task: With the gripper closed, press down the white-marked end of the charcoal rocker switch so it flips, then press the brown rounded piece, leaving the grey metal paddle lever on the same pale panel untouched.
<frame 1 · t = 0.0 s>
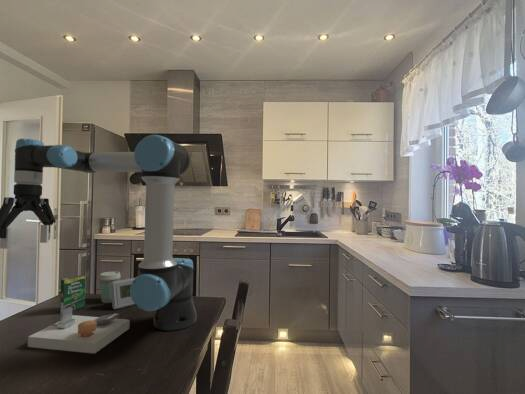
hand: (25, 245, 94), 28 cm above the table, tool pointing down, fingers open, 13 cm apart
digital clock: (131, 304, 116), on the table
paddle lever: (66, 317, 88), point 6 cm above the table, slide at 0.0 cm
switch panel: (82, 337, 87), on the table
coffee cup: (109, 301, 120), on the table
coffee box: (72, 310, 109), on the table
brown rounded piece: (87, 332, 83), point 4 cm above the table, slide at 0.0 cm
rocker switch: (105, 318, 91), point 5 cm above the table, hinge at 12.0°
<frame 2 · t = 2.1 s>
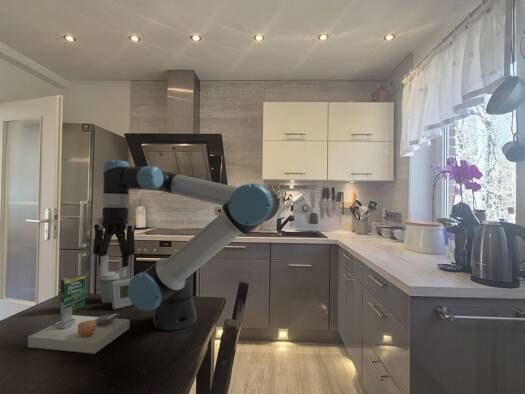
hand: (113, 275, 91), 19 cm above the table, tool pointing down, fingers open, 6 cm apart
nothing on the table moved.
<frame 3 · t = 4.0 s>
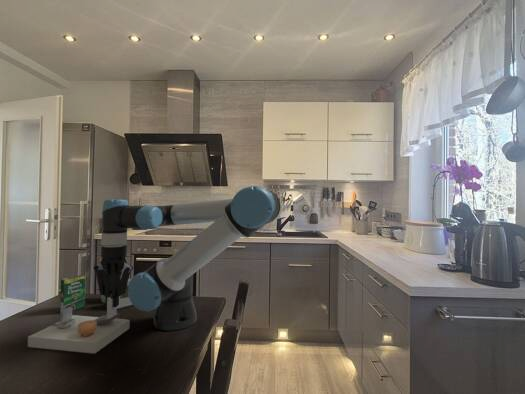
hand: (111, 316, 90), 5 cm above the table, tool pointing down, fingers closed
rocker switch: (105, 318, 91), point 5 cm above the table, hinge at 12.0°, touching gripper
everything else where it was.
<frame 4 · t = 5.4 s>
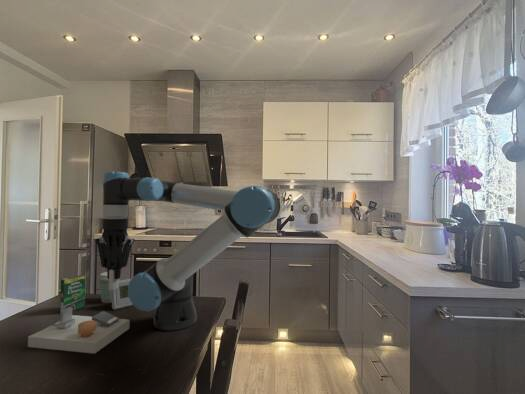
hand: (113, 288, 90), 15 cm above the table, tool pointing down, fingers closed
rocker switch: (105, 318, 91), point 5 cm above the table, hinge at -18.2°
everything else where it was.
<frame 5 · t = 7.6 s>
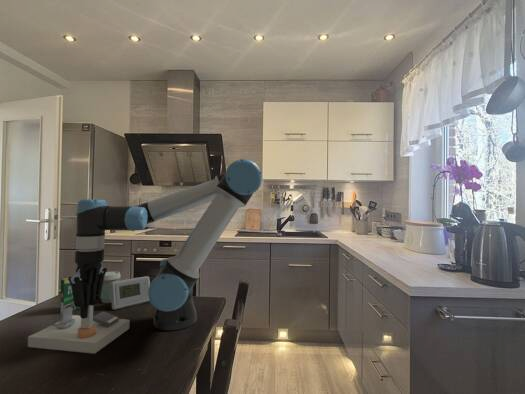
hand: (86, 327, 83), 5 cm above the table, tool pointing down, fingers closed
brown rounded piece: (87, 336, 83), point 3 cm above the table, slide at 1.3 cm, touching gripper
rocker switch: (105, 318, 91), point 5 cm above the table, hinge at -15.5°
everything else where it was.
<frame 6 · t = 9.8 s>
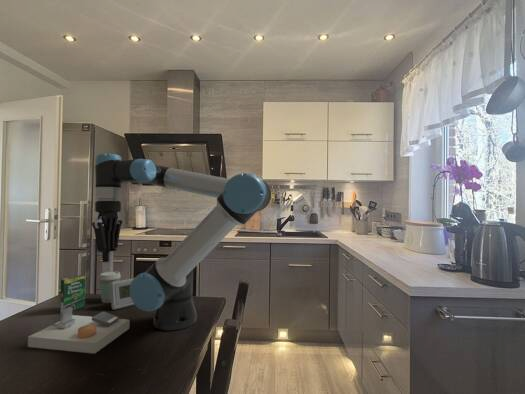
hand: (107, 271, 90), 20 cm above the table, tool pointing down, fingers closed
brown rounded piece: (87, 336, 83), point 2 cm above the table, slide at 1.3 cm, touching switch panel
rocker switch: (105, 318, 91), point 5 cm above the table, hinge at -14.9°
everything else where it was.
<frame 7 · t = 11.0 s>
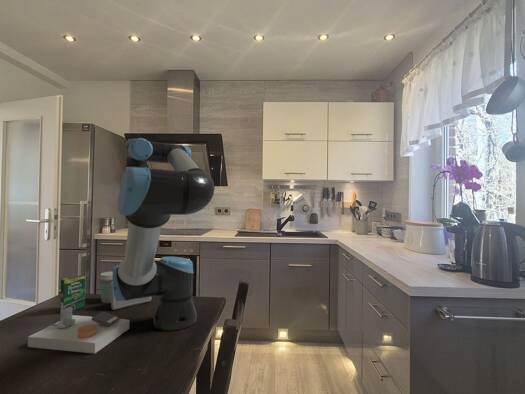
hand: (134, 238, 107), 29 cm above the table, tool pointing down, fingers closed
nothing on the table moved.
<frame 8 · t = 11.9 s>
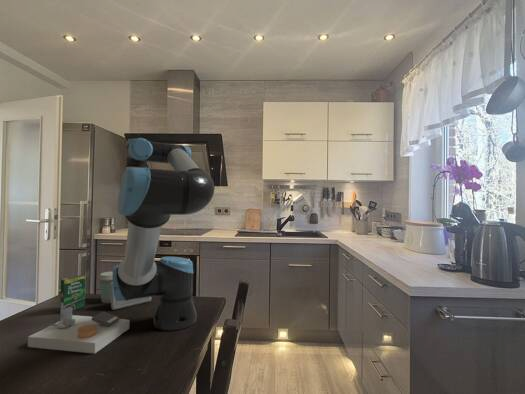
hand: (134, 238, 107), 29 cm above the table, tool pointing down, fingers closed
nothing on the table moved.
at the end: rocker switch at -15° (first picture: +12°); brown rounded piece slide at 1.3 cm; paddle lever slide at 0.0 cm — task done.
